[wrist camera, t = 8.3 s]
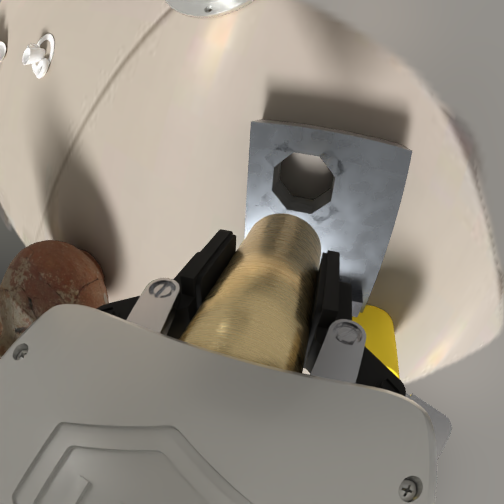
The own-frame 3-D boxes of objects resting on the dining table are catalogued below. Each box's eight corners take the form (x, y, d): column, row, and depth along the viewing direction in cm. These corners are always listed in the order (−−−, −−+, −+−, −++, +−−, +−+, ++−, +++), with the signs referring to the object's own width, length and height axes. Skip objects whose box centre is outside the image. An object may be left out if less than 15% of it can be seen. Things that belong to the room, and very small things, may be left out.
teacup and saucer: (53, 74, 27) (34, 77, 23) (32, 82, 28) (15, 86, 25) (59, 28, 22) (40, 28, 19) (36, 40, 23) (19, 41, 20)
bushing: (249, 207, 14) (128, 364, 5) (328, 221, 13) (300, 420, 5) (245, 271, 16) (161, 426, 8) (313, 286, 15) (274, 463, 7)
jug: (149, 318, 46) (57, 448, 22) (86, 311, 54) (10, 399, 29) (97, 209, 37) (-53, 331, 12) (43, 228, 44) (-57, 311, 20)
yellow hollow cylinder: (332, 299, 33) (327, 357, 26) (403, 309, 31) (413, 366, 23) (318, 348, 38) (310, 401, 31) (379, 356, 36) (381, 408, 28)
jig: (262, 119, 25) (244, 123, 20) (401, 144, 22) (419, 155, 17) (251, 269, 34) (236, 299, 29) (361, 291, 31) (363, 325, 26)
